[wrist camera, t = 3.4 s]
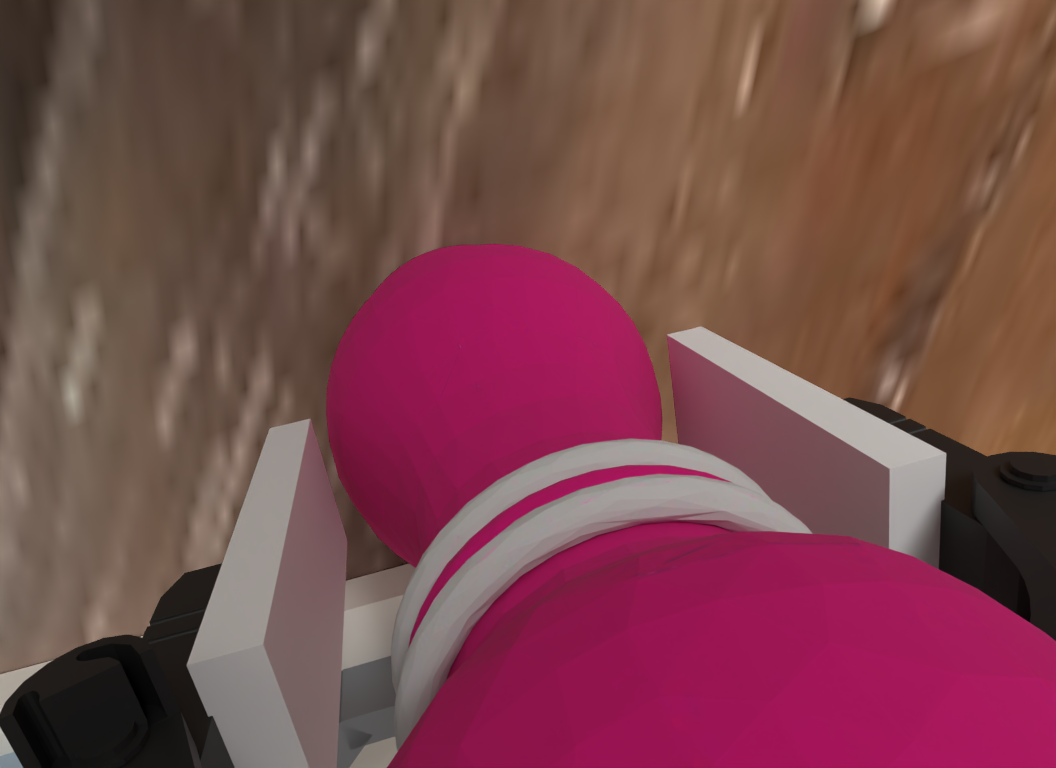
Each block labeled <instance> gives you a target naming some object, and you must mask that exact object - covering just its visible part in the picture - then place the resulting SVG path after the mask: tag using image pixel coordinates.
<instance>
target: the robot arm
mask: <svg viewBox="0 0 1056 768" xmlns="http://www.w3.org/2000/svg"><path fill="white" fill-rule="evenodd" d="M667 341H668V350H669V359H670V369H671V378H672V387H673V397H674V406H675V416H676V425H677V434H678V444H681V445H686V446H691V447H693V448H696V449H699V450H701V451H704V452H707V453H709V454H712V455H714V456H716V457H718V458H720V459H722V460H723V461H725V462H727V463H729V464H731V465H733V466H734V467H736V468H738V469H740V470H741V471H742V472H743V473H744V474H746V475H747V476H748V477H749V478H751V479H752V480H753V481H754V482H755V483H757V484H758V485H759V486H760V487H761V489H762V490H763V491H764V492H765V493H766V494H767V495H768V496H769V497H770V499H771V500H772V501H774V502H776V503H778V504H779V505H781V506H782V507H783V508H785V509H786V510H787V511H788V512H790V513H791V514H792V515H793V516H795V517H796V518H797V519H799V520H800V521H801V522H802V523H804V524H805V525H806V526H807V527H808V529H809V530H810V531H811V532H812V533H813V534H826V535H843V536H850V537H854V538H857V539H860V540H863V541H866V542H869V543H873V544H876V545H879V546H882V547H885V548H888V549H892V550H895V551H898V552H901V553H904V554H908V555H911V556H913V557H915V558H917V559H919V560H921V561H923V562H925V563H927V564H929V565H931V566H933V567H935V568H937V569H939V570H941V571H943V572H945V573H947V574H949V575H951V576H953V577H955V578H957V579H959V580H961V581H963V582H965V583H967V584H969V585H971V586H973V587H975V588H977V589H979V590H980V591H982V592H983V593H985V594H986V595H988V596H989V597H991V598H992V599H994V600H996V601H997V602H999V603H1000V604H1002V605H1003V606H1005V607H1006V608H1008V609H1009V610H1011V611H1013V612H1014V613H1016V614H1017V615H1019V616H1020V617H1022V618H1023V619H1025V620H1026V621H1028V622H1030V623H1031V624H1033V625H1034V626H1036V627H1037V628H1039V629H1040V630H1042V631H1043V632H1045V633H1046V634H1047V635H1049V636H1050V637H1051V638H1052V639H1054V640H1055V641H1056V455H1050V454H1044V453H1037V452H1007V453H1002V454H996V455H991V456H988V457H987V456H985V455H983V454H981V453H979V452H977V451H975V450H973V449H971V448H969V447H967V446H965V445H963V444H961V443H959V442H956V441H954V440H952V439H950V438H948V437H946V436H944V435H942V434H940V433H938V432H936V431H934V430H932V429H928V430H926V428H925V426H924V425H922V424H920V423H918V422H915V421H913V420H911V419H908V420H906V417H905V416H903V415H901V414H899V413H897V412H895V411H893V410H891V409H889V408H887V407H885V406H883V405H880V404H876V403H871V402H867V401H863V400H858V399H854V398H846V399H840V398H839V397H837V396H835V395H833V394H831V393H829V392H827V391H825V390H823V389H821V388H819V387H817V386H815V385H813V384H811V383H810V382H808V381H806V380H804V379H802V378H800V377H798V376H796V375H794V374H792V373H790V372H788V371H786V370H784V369H782V368H780V367H779V366H777V365H775V364H773V363H771V362H769V361H767V360H765V359H763V358H761V357H759V356H757V355H755V354H753V353H751V352H750V351H748V350H746V349H744V348H742V347H740V346H738V345H736V344H734V343H732V342H730V341H728V340H726V339H724V338H722V337H720V336H719V335H717V334H715V333H713V332H711V331H709V330H707V329H705V328H703V327H697V328H693V329H689V330H685V331H680V332H676V333H672V334H668V335H667ZM347 542H348V541H347V537H346V534H345V531H344V527H343V524H342V521H341V518H340V514H339V511H338V508H337V504H336V501H335V498H334V494H333V491H332V488H331V485H330V481H329V478H328V475H327V471H326V468H325V465H324V462H323V458H322V455H321V452H320V448H319V445H318V442H317V438H316V435H315V432H314V429H313V425H312V422H311V419H307V420H302V421H298V422H294V423H290V424H285V425H281V426H277V427H273V428H270V429H269V432H268V435H267V437H266V440H265V443H264V446H263V449H262V452H261V455H260V457H259V460H258V463H257V466H256V469H255V472H254V475H253V477H252V480H251V483H250V486H249V489H248V492H247V494H246V497H245V500H244V503H243V506H242V509H241V512H240V514H239V517H238V520H237V523H236V526H235V529H234V532H233V534H232V537H231V540H230V543H229V546H228V549H227V551H226V554H225V557H224V560H223V563H222V564H218V565H214V566H210V567H206V568H203V569H199V570H195V571H191V572H187V573H185V574H184V575H183V576H182V577H181V578H180V579H179V580H178V581H177V582H176V583H175V584H174V585H173V586H172V587H171V588H170V589H169V590H168V591H167V592H166V593H165V594H164V595H163V596H162V597H161V598H160V601H159V603H158V605H157V607H156V609H155V611H154V614H153V616H152V618H151V620H150V626H149V627H147V629H146V631H145V633H144V635H143V637H137V636H132V635H121V636H114V637H107V638H103V639H100V640H97V641H94V642H91V643H89V644H86V645H83V646H80V647H77V648H75V649H73V650H72V651H70V652H68V653H66V654H64V655H62V656H60V657H59V658H57V659H55V660H53V661H51V662H49V663H48V664H46V665H45V666H44V667H42V668H41V669H40V670H38V671H37V672H36V673H34V674H33V675H32V676H30V677H29V678H28V679H26V680H25V681H24V682H23V683H22V684H21V685H20V686H19V687H18V688H17V689H16V691H15V692H14V693H13V694H12V695H11V696H10V697H9V698H8V699H7V700H6V702H5V703H4V706H3V708H2V710H1V713H0V728H1V729H2V731H3V733H4V735H5V736H6V738H7V740H8V742H9V744H10V745H11V747H12V749H13V751H14V752H15V754H16V756H17V758H18V759H19V761H20V763H21V765H22V767H23V768H337V751H338V730H339V709H340V688H341V667H342V646H343V625H344V605H345V584H346V563H347Z"/></svg>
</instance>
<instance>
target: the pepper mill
mask: <svg viewBox="0 0 1056 768" xmlns="http://www.w3.org/2000/svg"><path fill="white" fill-rule="evenodd" d="M326 416H327V425H328V434H329V442H330V445H331V449H332V453H333V457H334V461H335V464H336V468H337V472H338V476H339V478H340V480H341V482H342V484H343V486H344V488H345V490H346V491H347V493H348V495H349V497H350V499H351V501H352V503H353V504H354V505H355V507H356V508H357V509H358V511H359V512H360V513H361V515H362V516H363V518H364V519H365V520H366V522H367V523H368V524H369V526H370V527H371V528H372V530H373V531H374V532H375V534H376V535H377V536H378V538H379V539H380V540H381V541H383V542H384V543H385V544H386V545H387V546H388V547H389V548H390V549H391V550H392V551H393V552H394V553H395V554H397V555H398V556H399V557H401V558H402V559H404V560H405V561H406V562H408V563H409V564H411V565H412V566H413V567H415V570H414V572H413V574H412V576H411V578H410V580H409V582H408V584H407V587H406V589H405V592H404V595H403V598H402V600H401V603H400V606H399V609H398V611H397V614H396V619H395V624H394V630H393V635H392V646H391V667H392V682H393V686H394V689H395V693H396V699H395V709H394V729H395V738H396V747H397V751H398V752H397V753H396V755H395V756H394V758H393V759H392V761H391V762H390V764H389V765H388V767H387V768H1056V641H1055V640H1054V639H1052V638H1051V637H1050V636H1049V635H1047V634H1046V633H1045V632H1043V631H1042V630H1040V629H1039V628H1037V627H1036V626H1034V625H1033V624H1031V623H1030V622H1028V621H1026V620H1025V619H1023V618H1022V617H1020V616H1019V615H1017V614H1016V613H1014V612H1013V611H1011V610H1009V609H1008V608H1006V607H1005V606H1003V605H1002V604H1000V603H999V602H997V601H996V600H994V599H992V598H991V597H989V596H988V595H986V594H985V593H983V592H982V591H980V590H979V589H977V588H975V587H973V586H971V585H969V584H967V583H965V582H963V581H961V580H959V579H957V578H955V577H953V576H951V575H949V574H947V573H945V572H943V571H941V570H939V569H937V568H935V567H933V566H931V565H929V564H927V563H925V562H923V561H921V560H919V559H917V558H915V557H913V556H911V555H908V554H904V553H901V552H898V551H895V550H892V549H888V548H885V547H882V546H879V545H876V544H873V543H869V542H866V541H863V540H860V539H857V538H854V537H850V536H843V535H826V534H813V533H812V532H811V531H810V530H809V529H808V527H807V526H806V525H805V524H804V523H802V522H801V521H800V520H799V519H797V518H796V517H795V516H793V515H792V514H791V513H790V512H788V511H787V510H786V509H785V508H783V507H782V506H781V505H779V504H778V503H776V502H774V501H772V500H771V499H770V497H769V496H768V495H767V494H766V493H765V492H764V491H763V490H762V489H761V487H760V486H759V485H758V484H757V483H755V482H754V481H753V480H752V479H751V478H749V477H748V476H747V475H746V474H744V473H743V472H742V471H741V470H740V469H738V468H736V467H734V466H733V465H731V464H729V463H727V462H725V461H723V460H722V459H720V458H718V457H716V456H714V455H712V454H709V453H707V452H704V451H701V450H699V449H696V448H693V447H691V446H686V445H681V444H676V443H671V442H666V441H661V436H662V409H661V398H660V393H659V389H658V385H657V381H656V377H655V373H654V369H653V366H652V363H651V360H650V357H649V354H648V351H647V349H646V346H645V343H644V341H643V339H642V338H641V336H640V334H639V332H638V330H637V328H636V326H635V324H634V322H633V321H632V320H631V319H630V317H629V316H628V315H627V313H626V312H625V311H624V309H623V308H622V307H621V306H620V304H619V303H618V302H617V301H616V300H615V299H614V298H613V297H612V296H611V295H610V294H609V293H608V292H607V291H605V290H604V289H603V288H602V287H601V286H600V285H599V284H598V283H596V282H595V281H594V280H592V279H591V278H590V277H589V276H587V275H586V274H585V273H583V272H582V271H581V270H580V269H578V268H577V267H575V266H573V265H571V264H569V263H567V262H565V261H563V260H561V259H559V258H557V257H555V256H553V255H551V254H548V253H545V252H541V251H537V250H533V249H529V248H525V247H522V246H514V245H501V244H486V245H456V246H450V247H444V248H439V249H436V250H433V251H430V252H427V253H424V254H422V255H420V256H418V257H415V258H413V259H412V260H410V261H408V262H407V263H405V264H404V265H402V266H401V267H399V268H398V269H396V270H395V271H394V272H393V273H392V274H391V275H390V276H388V277H387V278H386V279H385V280H384V281H383V283H382V284H381V285H380V286H379V287H378V288H377V289H376V291H375V292H374V294H373V295H372V296H371V297H370V298H369V299H368V300H367V301H366V302H365V304H364V305H363V306H362V307H361V309H360V310H359V311H358V313H357V314H356V315H355V316H354V318H353V319H352V321H351V323H350V324H349V326H348V328H347V330H346V331H345V333H344V335H343V337H342V339H341V341H340V343H339V346H338V348H337V351H336V354H335V357H334V359H333V362H332V365H331V370H330V375H329V380H328V386H327V406H326Z"/></svg>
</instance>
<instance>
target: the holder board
mask: <svg viewBox="0 0 1056 768" xmlns="http://www.w3.org/2000/svg"><path fill="white" fill-rule="evenodd" d="M414 570H415V567H413V566H412V565H411V564H406V565H402V566H398V567H395V568H391V569H387V570H384V571H380V572H376V573H373V574H369V575H365V576H361V577H358V578H354V579H350V580H347V581H346V584H345V605H344V625H343V646H342V667H341V688H340V709H339V730H338V751H337V768H387V767H388V765H389V764H390V762H391V761H392V759H393V758H394V756H395V755H396V753H397V752H398V751H397V747H396V738H395V729H394V709H395V699H396V693H395V689H394V686H393V682H392V667H391V646H392V635H393V630H394V624H395V619H396V614H397V611H398V609H399V606H400V603H401V600H402V598H403V595H404V592H405V589H406V587H407V584H408V582H409V580H410V578H411V576H412V574H413V572H414ZM140 637H143V636H140ZM52 661H53V660H52ZM49 662H51V661H48V662H44V663H41V664H37V665H33V666H29V667H26V668H22V669H18V670H15V671H11V672H7V673H4V674H0V713H1V710H2V708H3V706H4V703H5V702H6V700H7V699H8V698H9V697H10V696H11V695H12V694H13V693H14V692H15V691H16V689H17V688H18V687H19V686H20V685H21V684H22V683H23V682H24V681H25V680H26V679H28V678H29V677H30V676H32V675H33V674H34V673H36V672H37V671H38V670H40V669H41V668H42V667H44V666H45V665H46V664H48V663H49ZM0 768H23V767H22V765H21V763H20V761H19V759H18V758H17V756H16V754H15V752H14V751H13V749H12V747H11V745H10V744H9V742H8V740H7V738H6V736H5V735H4V733H3V731H2V729H1V728H0Z"/></svg>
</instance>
